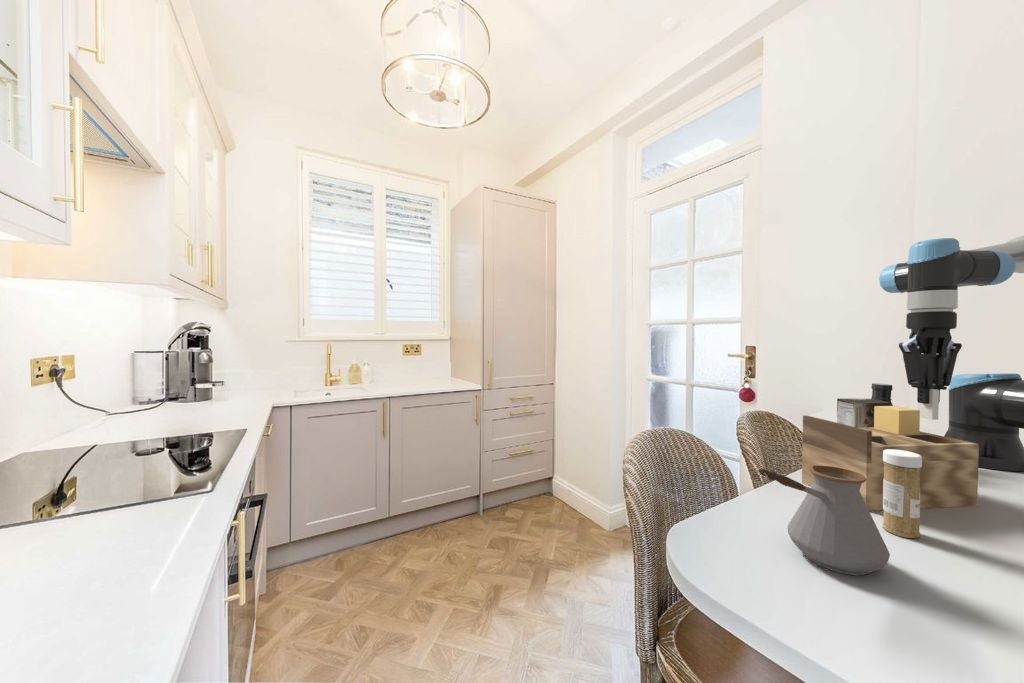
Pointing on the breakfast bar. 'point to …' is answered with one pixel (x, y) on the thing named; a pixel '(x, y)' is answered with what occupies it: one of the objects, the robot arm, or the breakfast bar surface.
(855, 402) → the coffee box
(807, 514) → the coffee pot
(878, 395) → the sauce bottle
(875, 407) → the ochre block
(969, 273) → the robot arm
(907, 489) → the sprinkles bottle
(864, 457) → the box
